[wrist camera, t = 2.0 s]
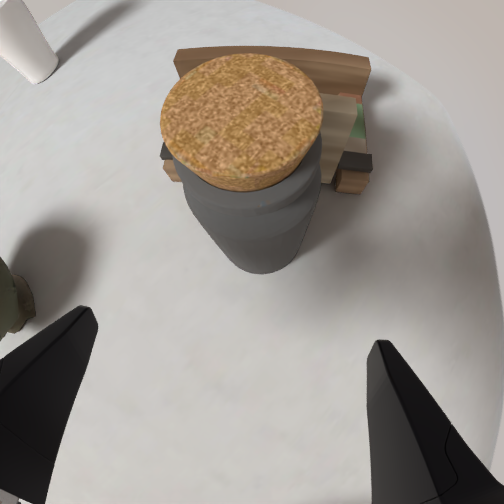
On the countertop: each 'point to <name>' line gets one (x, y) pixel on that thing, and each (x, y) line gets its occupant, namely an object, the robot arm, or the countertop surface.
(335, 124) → the wooden flat panel
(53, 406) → the robot arm
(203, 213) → the bottle
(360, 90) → the wooden rack
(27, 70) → the drinking glass
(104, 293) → the countertop surface
